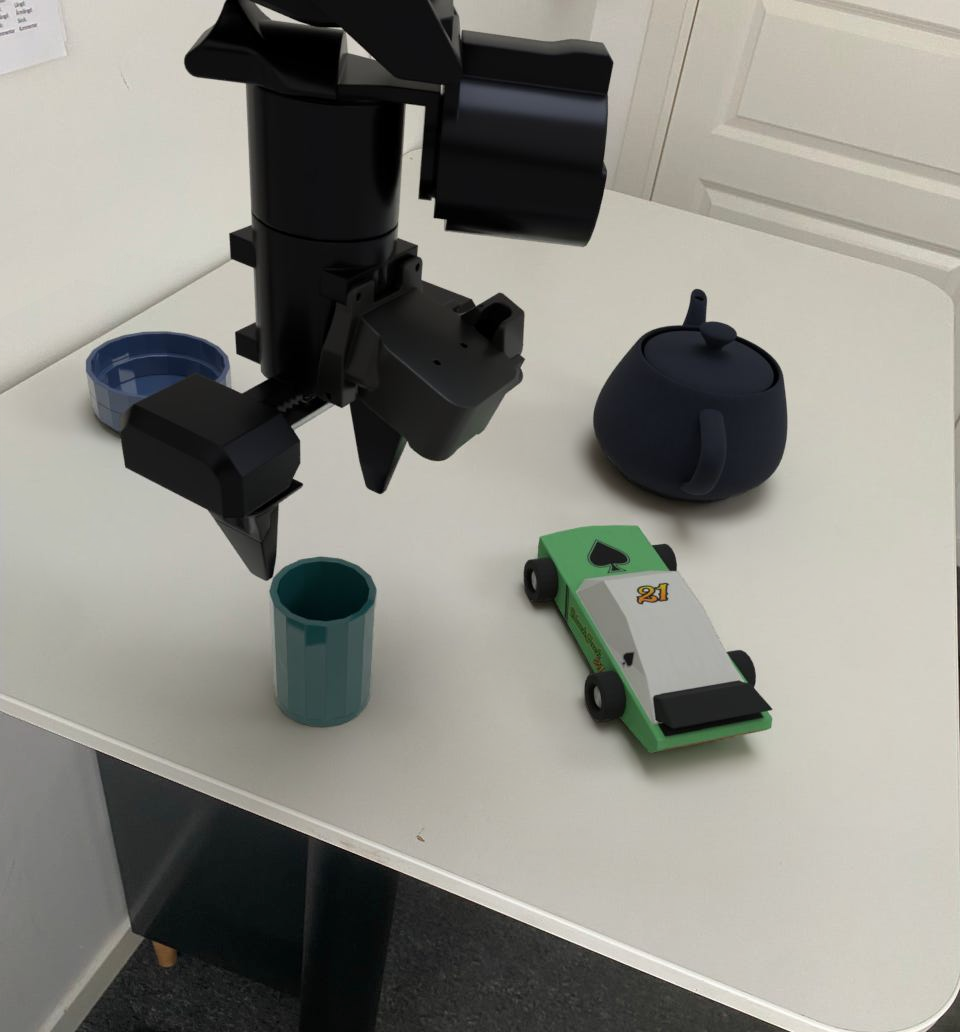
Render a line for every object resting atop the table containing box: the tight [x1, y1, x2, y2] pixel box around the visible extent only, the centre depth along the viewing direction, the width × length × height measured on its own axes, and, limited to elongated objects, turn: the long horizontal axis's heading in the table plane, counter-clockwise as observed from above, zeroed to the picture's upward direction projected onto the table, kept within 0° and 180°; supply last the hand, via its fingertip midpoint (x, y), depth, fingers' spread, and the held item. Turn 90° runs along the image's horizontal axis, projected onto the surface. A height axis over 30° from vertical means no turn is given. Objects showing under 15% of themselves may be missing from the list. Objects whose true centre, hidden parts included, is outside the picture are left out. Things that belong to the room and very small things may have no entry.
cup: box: [268, 555, 378, 728], centre depth 53 cm, size 6×6×8 cm
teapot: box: [592, 288, 789, 503], centre depth 75 cm, size 25×16×12 cm, turn 174°
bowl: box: [85, 330, 233, 434], centre depth 74 cm, size 11×11×4 cm
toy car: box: [523, 524, 773, 754], centre depth 60 cm, size 10×19×5 cm, turn 18°
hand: (322, 530), depth 48 cm, fingers open, 9 cm apart
